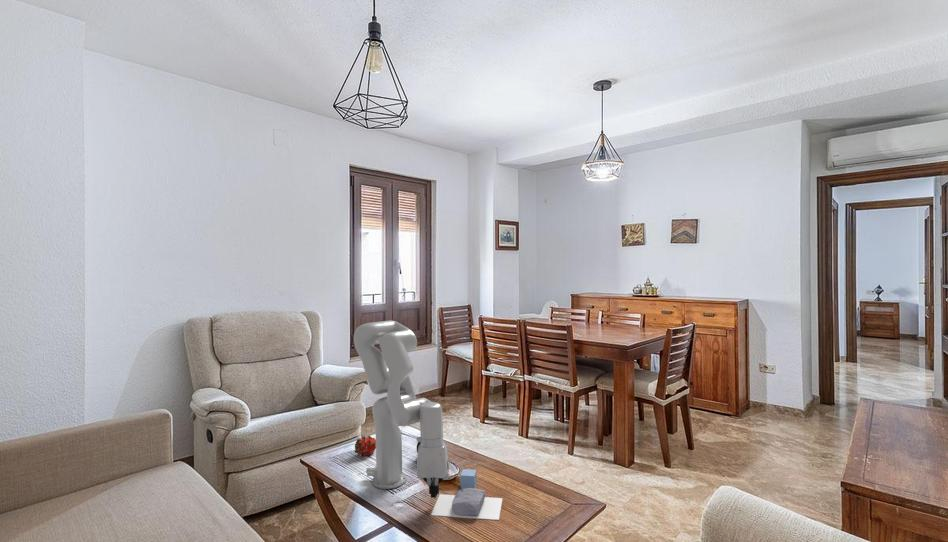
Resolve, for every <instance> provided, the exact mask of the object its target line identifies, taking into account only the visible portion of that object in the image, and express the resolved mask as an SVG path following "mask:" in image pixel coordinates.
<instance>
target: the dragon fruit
mask: <svg viewBox="0 0 948 542" xmlns="http://www.w3.org/2000/svg"><path fill="white" fill-rule="evenodd" d="M354 449H355V450H354V453H356V454H357V456H360V457H362V458H363V457H365V456H372V454H374V452H375V451H376V437H372V436H371V435H367V437H366V436H362V437H361V438H357V440H356V441H355V444H354Z"/></svg>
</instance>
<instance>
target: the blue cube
mask: <svg viewBox="0 0 948 542" xmlns="http://www.w3.org/2000/svg"><path fill="white" fill-rule="evenodd" d="M476 486H477V469H469V468H465V469H464V468H463V469H462V471H461V473H460V490H462V489H466V488H476Z"/></svg>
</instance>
